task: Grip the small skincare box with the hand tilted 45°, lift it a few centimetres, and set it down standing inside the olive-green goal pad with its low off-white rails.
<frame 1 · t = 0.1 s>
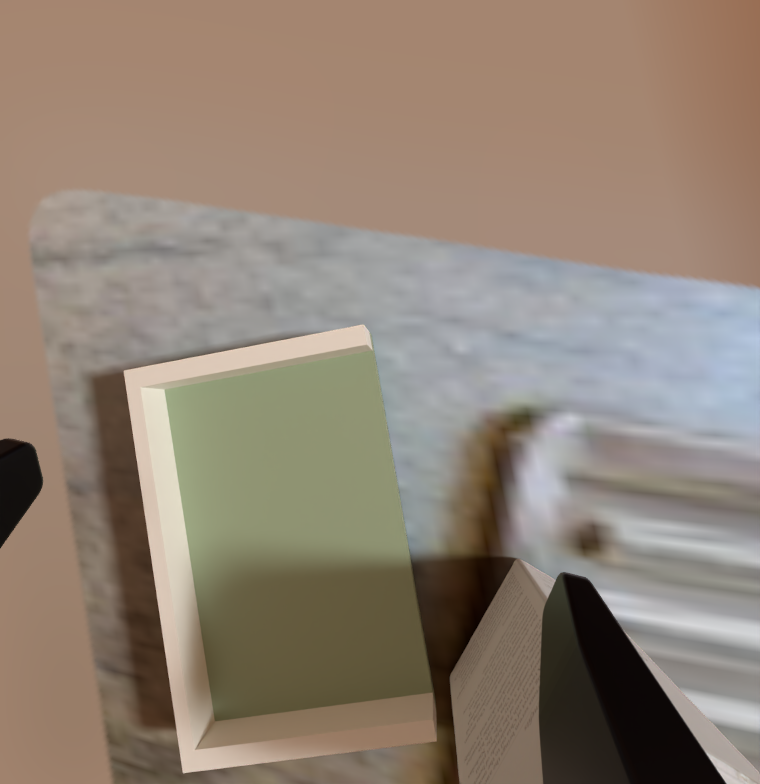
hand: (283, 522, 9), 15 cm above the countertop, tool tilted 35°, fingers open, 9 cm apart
goal pad: (291, 532, 24), on the countertop
skincare box: (525, 638, 23), on the countertop
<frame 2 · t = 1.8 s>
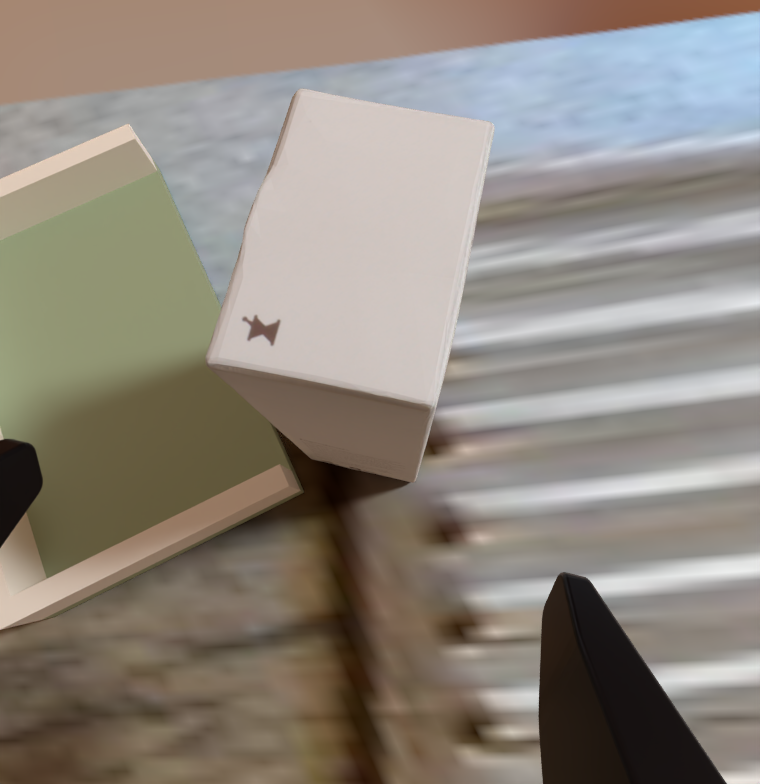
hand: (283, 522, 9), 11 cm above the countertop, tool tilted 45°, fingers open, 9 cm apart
goal pad: (112, 369, 22), on the countertop
skincare box: (381, 398, 21), on the countertop
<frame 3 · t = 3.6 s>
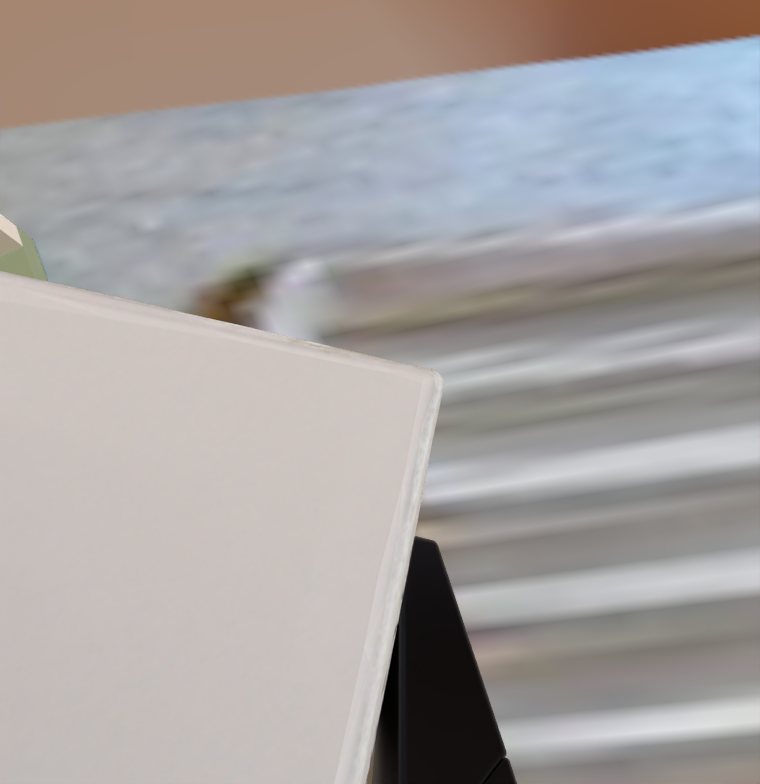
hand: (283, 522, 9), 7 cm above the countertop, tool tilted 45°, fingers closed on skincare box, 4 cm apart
skincare box: (322, 576, 15), on the countertop, touching gripper
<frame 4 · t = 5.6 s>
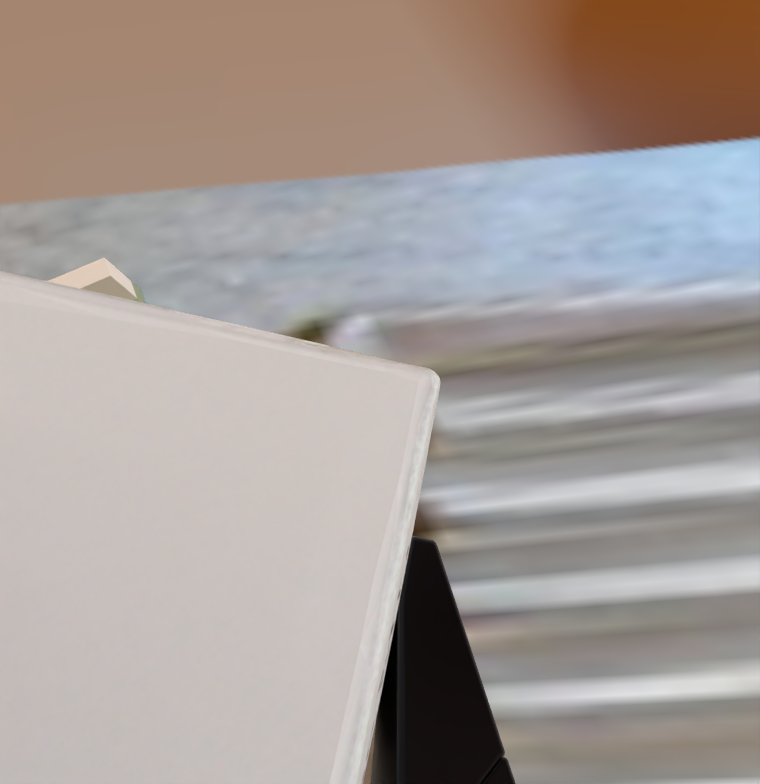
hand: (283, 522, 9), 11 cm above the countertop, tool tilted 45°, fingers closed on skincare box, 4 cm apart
goal pad: (80, 520, 20), on the countertop
skincare box: (323, 575, 15), point 4 cm above the countertop, touching gripper
when the fingers open (9 cm above the countertop, at t = 7.3 s): skincare box drops 1 cm, resting on goal pad.
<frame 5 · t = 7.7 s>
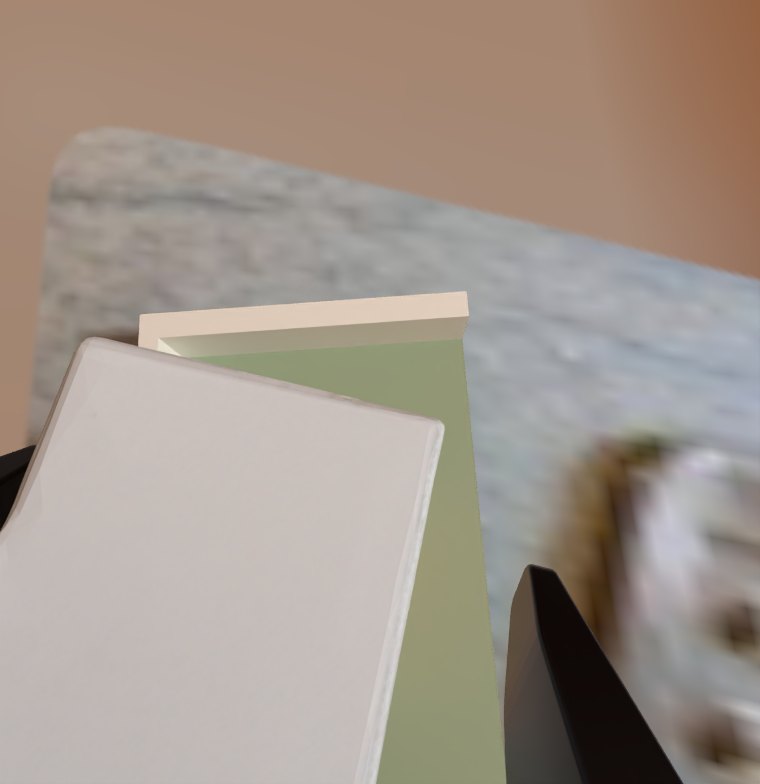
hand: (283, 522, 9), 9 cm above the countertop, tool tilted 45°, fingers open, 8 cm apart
goal pad: (323, 572, 17), on the countertop
skincare box: (328, 576, 17), point 1 cm above the countertop, touching goal pad
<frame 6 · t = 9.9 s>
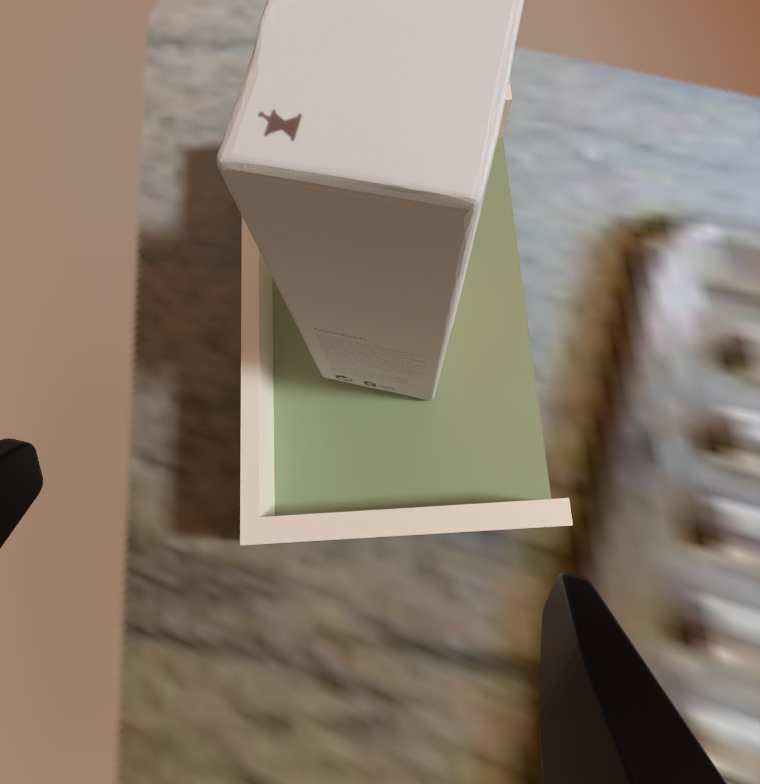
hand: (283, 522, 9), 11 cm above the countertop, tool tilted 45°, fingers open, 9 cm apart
goal pad: (390, 320, 21), on the countertop
skincare box: (396, 316, 20), point 1 cm above the countertop, touching goal pad
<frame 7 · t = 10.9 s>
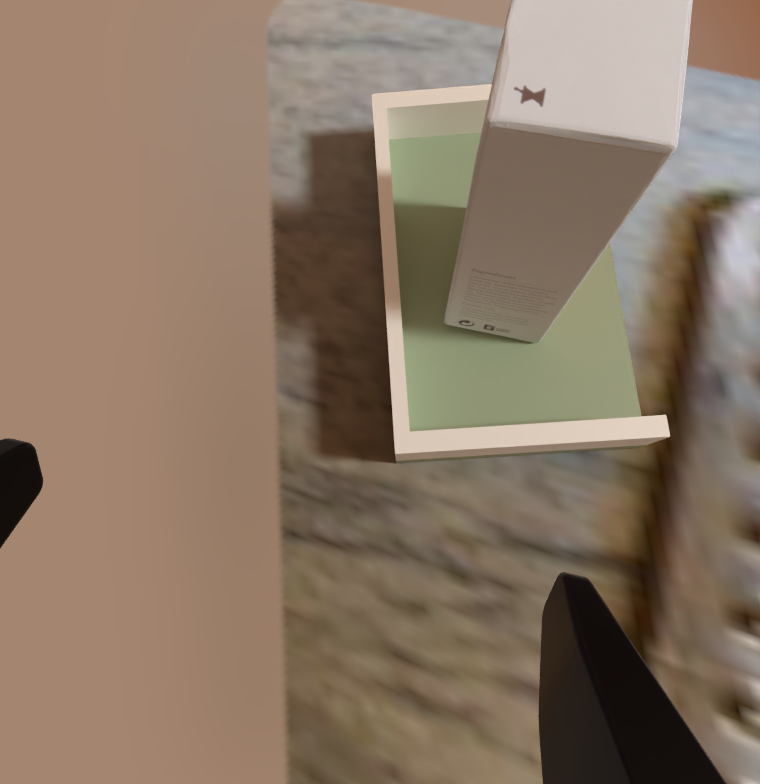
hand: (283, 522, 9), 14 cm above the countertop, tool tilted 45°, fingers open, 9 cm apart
goal pad: (495, 279, 25), on the countertop
skincare box: (503, 275, 24), point 1 cm above the countertop, touching goal pad
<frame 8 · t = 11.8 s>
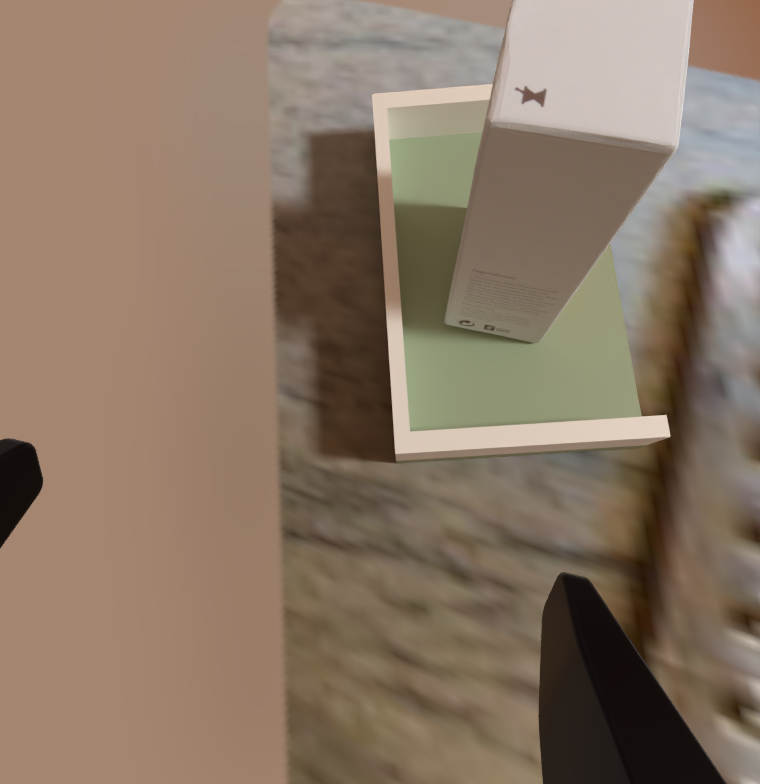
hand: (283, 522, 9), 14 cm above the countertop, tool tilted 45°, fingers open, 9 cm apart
goal pad: (495, 279, 25), on the countertop
skincare box: (503, 275, 24), point 1 cm above the countertop, touching goal pad
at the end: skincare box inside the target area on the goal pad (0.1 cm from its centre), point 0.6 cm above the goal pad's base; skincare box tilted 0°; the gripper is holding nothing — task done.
